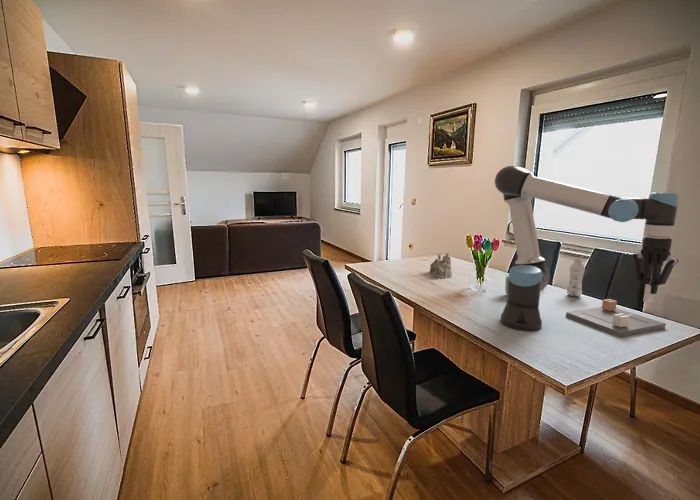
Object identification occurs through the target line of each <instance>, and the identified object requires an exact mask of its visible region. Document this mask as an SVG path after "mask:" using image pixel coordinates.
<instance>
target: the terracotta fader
mask: <svg viewBox="0 0 700 500" xmlns="http://www.w3.org/2000/svg"><path fill="white" fill-rule="evenodd" d="M617 303H618V301H617V300H615V299H611V298H608V299H603V300H602V304H601V307H602V309H604V310H607V311H611V310H616V308H617Z"/></svg>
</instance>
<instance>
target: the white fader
mask: <svg viewBox="0 0 700 500" xmlns="http://www.w3.org/2000/svg"><path fill="white" fill-rule="evenodd" d="M629 318H630V316H628V315H626V314H622V313H621V314H615V315H614V316H613V323H612V324H613V325H615V326H618V327H625V326H628V325H629Z"/></svg>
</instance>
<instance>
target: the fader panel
mask: <svg viewBox="0 0 700 500" xmlns="http://www.w3.org/2000/svg"><path fill="white" fill-rule="evenodd" d="M621 313H622V314H626V315H628V316H630V318H629V325H628V326H625V327H618V326H615V325H613V324H612V323H613V316H614V315H615V314H621ZM565 317H566V318H568V319H571V320H574V321H576V322H579V323H582V324H584V325H587V326H589V327H592V328H595V329H598V330H600V331H602V332H605V333H608V334H610V335H613V336H615V337H618V338H623V337H629V336H632V335H639V334H642V333H648V332H653V331H657V330H658V331H659V330H663V329H665V328H666V323H665V322H662V321H659V320H655V319H652V318H649V317H646V316H643V315H640V314H637V313H633V312H631V311H627V310H624V309H621V308H617V307H616V310H611V311H607V310H604V309H602V306H599V307H592V308H585V309H584V308H583V309H579V310H578V309H577V310H572V311H567V312H565Z"/></svg>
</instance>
